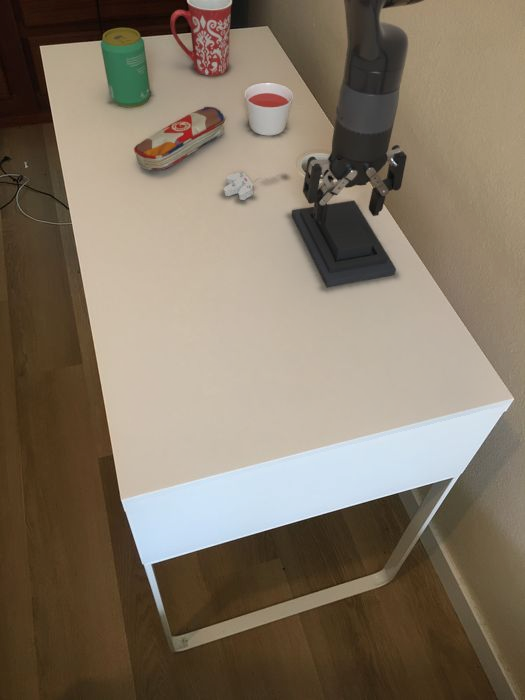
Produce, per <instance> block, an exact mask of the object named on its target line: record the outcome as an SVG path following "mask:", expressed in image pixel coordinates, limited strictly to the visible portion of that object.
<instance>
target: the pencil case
mask: <svg viewBox="0 0 525 700" xmlns="http://www.w3.org/2000/svg"><path fill="white" fill-rule="evenodd" d="M225 121H226V116H225V114H224V113H223V112H222V111H221V110H220V109H219V108H217V107H215V106H204V107H203V108H201V109H198V110H196V111H193V112H191V113H189V114H187V115H185V116H183V117H182V118H180V119H177V120H176V121H174V122H173V123H171V124H169V125H168V126H166V127H164V128H162V129H161V130H159V131H157V132H155V133H154V134H152V135H151V136H149V137H147V138H145V139H144V140H142V141H141V142H139V143H137V144H135V146H134V147H133V152H134V154H135V157H136V161H137V163H138V165H139V167H141V168H142V169H144V170H148V171H161V170H166V169H169V168H171V167H172V166H174V165H175V164H178V163H179V162H180V161H182V160H183V159H185V158H186V157H188V156H189V155H191V154H192V153H194V152H196V151H198V150H199V149H200V148H202V147H203V146H205V145H207V144H209V143H210V142H212V141H214V140H216V139H217V138H219V137H220V136H222V134H223V133H224V130H225V127H224V125H223V124H224V123H225Z"/></svg>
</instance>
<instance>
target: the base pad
mask: <svg viewBox="0 0 525 700" xmlns="http://www.w3.org/2000/svg"><path fill="white" fill-rule="evenodd" d="M327 204H328V203H327ZM342 204H349V205H350V207H351V208H352V210H353V212H354V213H355V215H356V217H357V218H358V220H359V222H360V224H361V225H362V227H363V229H364V230H365V232H366V234H367V235H368V237H369V239H370V240H371V242H372V244H373V246H372V250H371V254H370V256H365V257H359V258H354V259H348V260H342V261H337V262H336V261H335V259H334V257H333V255H332V253H331V251H330V249H329V247H328V245H327V244H326V242H325V240H324V238H323V236H322V234H321V232H320V230H319V228H318V226H317V224H316V222H315V217H314V215H313V209H314V206H309V207H303V208H297V209H292V210H291V218H292V220H293V222H294V224H295V226H296V228H297V230H298V232H299V234H300V237H301V238H302V240H303V243H304V244H305V246H306V248H307V251H308V252H309V254H310V257H311V259H312V260H313V261H312V262H313V263H314V265H315V267H316V269H317V271H318V273H319V275H320V277H321V279H322V282H323V283H324V285H325V287H326V288H330V287H336V286H341V285H347V284H353V283H359V282H364V281H369V280H374V279H381V278H384V277H391V276H395V275H396V271H397V267H396V266H395V265H394V263H393V262H392V260H391V258H390V257H389V255H388V253H387V252H386V250H385V248H384V247H383V245H382V243H381V242H380V240H379V238H378V237H377V235H376V233H375V232H374V231H373V230H374V229H372V227H371V225H370V224H369V222H368V220H367V218H366V217H365V216H364V213H363V212H362V210H361V209H360V207H359V205H358V204H357V202H356V200H347V201H340V202H335V203H329V204H328V207H329V206H335V205H342Z"/></svg>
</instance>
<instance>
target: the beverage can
mask: <svg viewBox="0 0 525 700" xmlns="http://www.w3.org/2000/svg"><path fill="white" fill-rule="evenodd" d="M100 49H101V54H102V59H103V65H104V70H105V75H106V81H107V86H108V92H109V96H110V98H111V99H112V100H113V102H114V103H115V104H116V105H117V106H119V107H123V108H136V107H140V106H142V105H144V104H146V103H147V102H148V100H149V97H150V96H151V87H150V78H149V72H148V71H149V70H148V63H147V56H146V47H145V41H144V39H143V38H142V37H141V34H140V32H139V31H138V30H136V29H134V28H131V27H115V28H111V29H108V30H107V31H105V32H104V33H103V34H102V39H101V42H100Z"/></svg>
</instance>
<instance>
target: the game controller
mask: <svg viewBox="0 0 525 700" xmlns="http://www.w3.org/2000/svg"><path fill="white" fill-rule="evenodd" d="M279 176H280V174H278V175H276V176H275V177H274V178H270V179H268V178H265V180H266V181H270V180H271V181H272V180H275V179H276V178H278V177H279ZM282 176H284V177H286V176H287V175H285V174H284V173H283V174H282ZM260 179H261V177H259V178H256V179H255V180H254V181H252V180H251V179H250V178H249V177H248V176H247V175H246V174H245V173H243V172H234V173H231V174H228V175H227V176H226V181H227V185H226V186H225V187H224V188H223V193H224V196H225V197H230V196H233V195H236V194H238V199H239V200H241V201H244V200H246V199H248V198H249V197H252V195H254V187H253V183H255V182H256V181H257V180H260Z"/></svg>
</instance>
